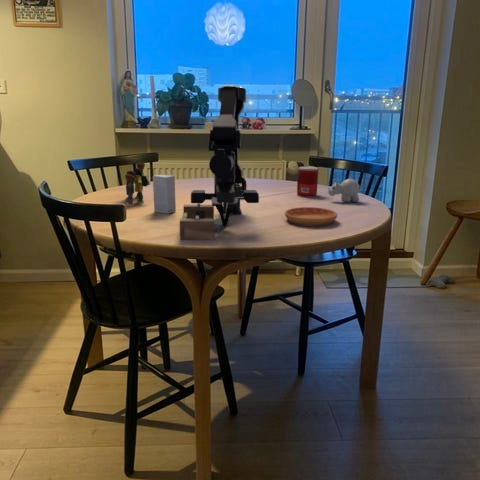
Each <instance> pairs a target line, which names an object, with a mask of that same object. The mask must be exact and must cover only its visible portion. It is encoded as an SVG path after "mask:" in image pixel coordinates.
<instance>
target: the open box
mask: <svg viewBox="0 0 480 480" xmlns="http://www.w3.org/2000/svg"><path fill="white" fill-rule="evenodd" d="M182 213H183V214H182V216H181V218H180V219H179V240H180V241H192V240H194V241H196V240H198V241H200V240H201V241H205V240H206V241H207V240H209V241H214V240H215V237H216V236H215V235H216V234H215V233H216V232H215V220H216V219H215V206H212V204H201V203H196V204H183V212H182Z"/></svg>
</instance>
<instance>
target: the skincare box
mask: <svg viewBox="0 0 480 480" xmlns="http://www.w3.org/2000/svg"><path fill="white" fill-rule="evenodd" d="M175 179H176V177H175V175H169V174H168V175H167V174H156V175H153V176H152V188H153V209H154V210H153V211H154V212H155V213H161V214H166V215H167V214H172V213H175V212H176V210H177V209H176V205H177V204H176V181H175Z"/></svg>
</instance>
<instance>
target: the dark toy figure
mask: <svg viewBox="0 0 480 480" xmlns="http://www.w3.org/2000/svg"><path fill="white" fill-rule="evenodd" d="M136 167H137V168H136ZM136 167H135V168H134V169H133V170H127V171H126V174H125V176H124V177H125V181H126V184H125V185H126V186H125V190H126V195H127V196H126V198H125V199H124V201H126V203H125V205H126V207H135V204H134V202H133V201H134V198H135V199H137V200H136V202H135V203H136V204H137V205H138V204H139V205H140V204H145V200H144V195H143V191H144V187H148V186H150V184H151V182H150V181H149V179H148V177H150V175H145V174H144V171H143V170H145V167H146V164H145V163H144V162H141V161H140V162H137V163H136ZM135 193H136V195H135V197H134V194H135Z"/></svg>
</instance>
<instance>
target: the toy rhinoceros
mask: <svg viewBox="0 0 480 480" xmlns="http://www.w3.org/2000/svg"><path fill="white" fill-rule="evenodd" d="M333 183H334V184H333V185H332V186H331V187H330V186H328V188H327V191H328V195H329V196H330V197H334V196H335V195H340V194H341V195H340V196H341V198H340V199H341V201H343V203H351V202H352V203H358V202H360V197H359V193H360V184H359V182H358V181H357V180H355V179H353V178H347V179H344V180H343V181H342V182H341V183H338V182H336V181H334V182H333Z"/></svg>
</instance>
